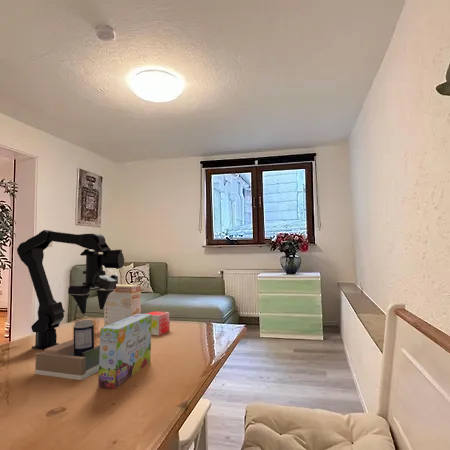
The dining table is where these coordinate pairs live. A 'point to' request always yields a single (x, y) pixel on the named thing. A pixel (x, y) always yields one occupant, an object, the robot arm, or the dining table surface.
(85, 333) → the beverage can
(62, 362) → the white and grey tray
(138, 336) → the snack box
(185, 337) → the dining table surface
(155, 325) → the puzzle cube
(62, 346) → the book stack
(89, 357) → the grey flat plate
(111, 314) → the coffeecake box
